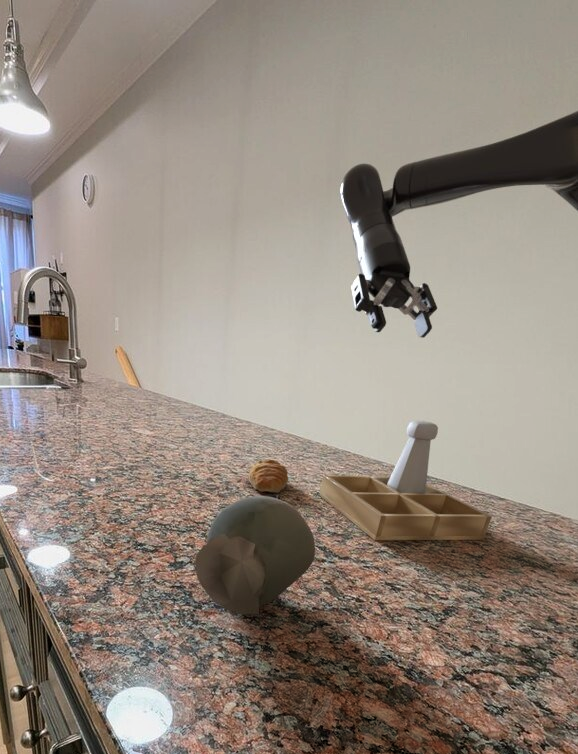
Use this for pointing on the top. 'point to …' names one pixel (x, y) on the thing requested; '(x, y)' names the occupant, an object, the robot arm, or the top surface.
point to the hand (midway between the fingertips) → (403, 331)
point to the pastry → (268, 476)
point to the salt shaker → (414, 459)
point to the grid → (402, 510)
